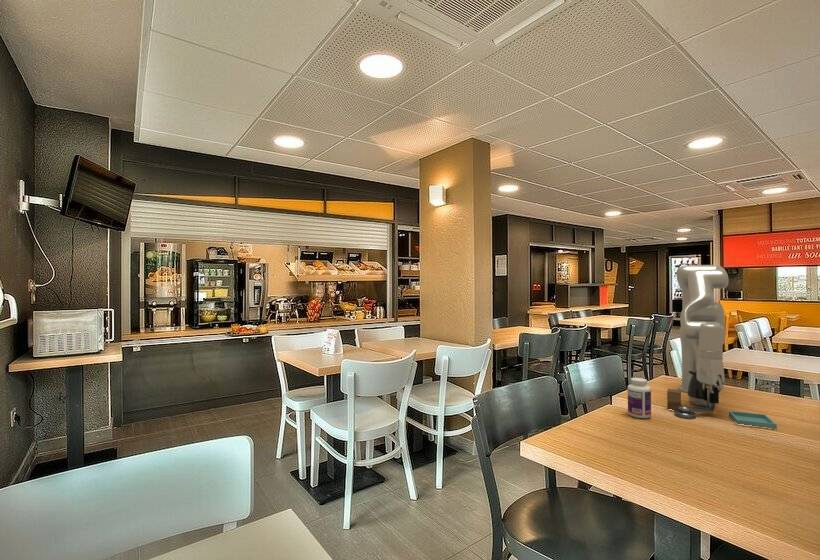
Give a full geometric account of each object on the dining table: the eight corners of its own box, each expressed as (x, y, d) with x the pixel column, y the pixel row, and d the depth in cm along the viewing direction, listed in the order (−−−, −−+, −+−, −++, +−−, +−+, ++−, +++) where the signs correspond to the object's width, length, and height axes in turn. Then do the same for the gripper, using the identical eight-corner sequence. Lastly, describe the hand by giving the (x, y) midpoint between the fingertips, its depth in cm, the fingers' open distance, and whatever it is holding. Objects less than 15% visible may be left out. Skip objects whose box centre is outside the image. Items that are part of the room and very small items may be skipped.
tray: (728, 416, 159) (728, 410, 159) (765, 420, 154) (765, 414, 154) (737, 425, 149) (737, 419, 149) (776, 430, 144) (776, 424, 144)
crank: (683, 413, 158) (683, 387, 158) (676, 409, 162) (676, 385, 162) (719, 412, 159) (719, 386, 159) (711, 408, 163) (710, 384, 163)
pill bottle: (645, 412, 164) (645, 377, 164) (655, 419, 156) (655, 382, 156) (624, 412, 165) (624, 376, 165) (633, 419, 157) (632, 381, 157)
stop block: (680, 412, 164) (680, 392, 164) (667, 410, 167) (667, 390, 167) (681, 409, 168) (680, 390, 168) (668, 407, 170) (667, 388, 170)
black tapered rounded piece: (681, 400, 179) (681, 366, 179) (706, 401, 179) (705, 366, 179) (697, 408, 169) (696, 371, 169) (722, 408, 169) (722, 371, 169)
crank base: (672, 412, 164) (672, 408, 164) (693, 414, 161) (693, 410, 161) (675, 417, 158) (675, 413, 158) (697, 420, 155) (697, 416, 155)
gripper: (688, 351, 169) (688, 396, 169) (714, 358, 153) (714, 408, 153) (707, 351, 169) (707, 396, 168) (735, 359, 152) (736, 408, 152)
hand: (711, 401), depth 161 cm, fingers closed on crank, 2 cm apart
